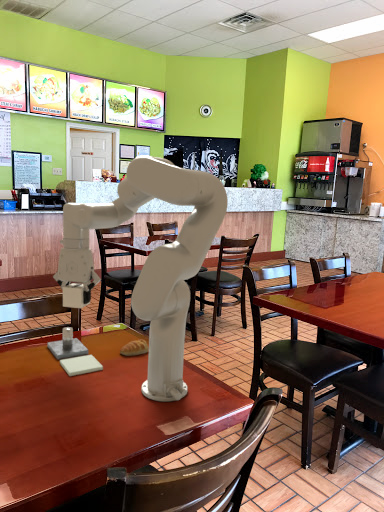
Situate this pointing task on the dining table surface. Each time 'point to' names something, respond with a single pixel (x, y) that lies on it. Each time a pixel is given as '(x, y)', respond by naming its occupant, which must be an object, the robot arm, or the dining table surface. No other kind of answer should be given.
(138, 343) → the pastry
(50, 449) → the dining table surface
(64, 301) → the white slotted cube
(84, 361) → the coaster
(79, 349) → the post stand
